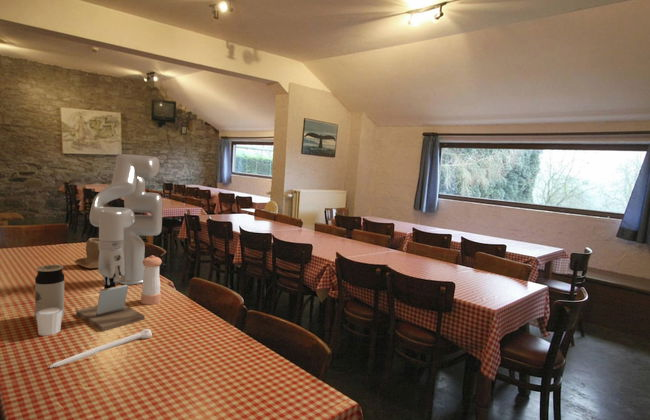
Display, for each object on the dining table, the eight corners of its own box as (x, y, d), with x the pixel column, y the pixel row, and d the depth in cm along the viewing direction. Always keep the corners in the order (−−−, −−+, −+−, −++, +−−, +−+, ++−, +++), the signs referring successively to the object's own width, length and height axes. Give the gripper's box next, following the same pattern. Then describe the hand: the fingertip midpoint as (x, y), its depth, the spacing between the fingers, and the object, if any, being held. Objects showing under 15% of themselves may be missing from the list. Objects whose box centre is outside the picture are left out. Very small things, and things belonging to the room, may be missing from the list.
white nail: (54, 373, 94) (54, 363, 94) (47, 368, 96) (47, 358, 96) (154, 337, 118) (154, 329, 117) (147, 334, 120) (147, 325, 120)
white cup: (67, 330, 118) (68, 309, 117) (45, 338, 111) (45, 316, 110) (53, 325, 120) (53, 305, 119) (30, 333, 113) (30, 312, 113)
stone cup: (112, 267, 190) (112, 239, 188) (86, 271, 180) (87, 241, 179) (98, 261, 198) (99, 235, 197) (73, 265, 189) (74, 237, 187)
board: (76, 314, 130) (76, 310, 129) (116, 304, 141) (116, 301, 141) (102, 331, 118) (102, 327, 118) (144, 319, 130) (144, 315, 130)
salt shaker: (164, 300, 149) (166, 255, 147) (149, 305, 143) (151, 258, 141) (152, 297, 152) (153, 252, 150) (136, 302, 146) (138, 255, 144)
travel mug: (61, 311, 131) (62, 263, 129) (65, 318, 125) (66, 268, 124) (33, 316, 125) (33, 266, 124) (36, 324, 120) (37, 271, 118)
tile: (99, 289, 124) (101, 291, 123) (126, 284, 131) (128, 286, 131) (95, 315, 126) (97, 316, 126) (122, 308, 134) (123, 310, 133)
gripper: (132, 247, 126) (131, 297, 128) (112, 240, 135) (110, 288, 136) (110, 249, 120) (108, 302, 122) (89, 242, 129) (89, 292, 130)
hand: (109, 294), depth 129 cm, fingers closed
